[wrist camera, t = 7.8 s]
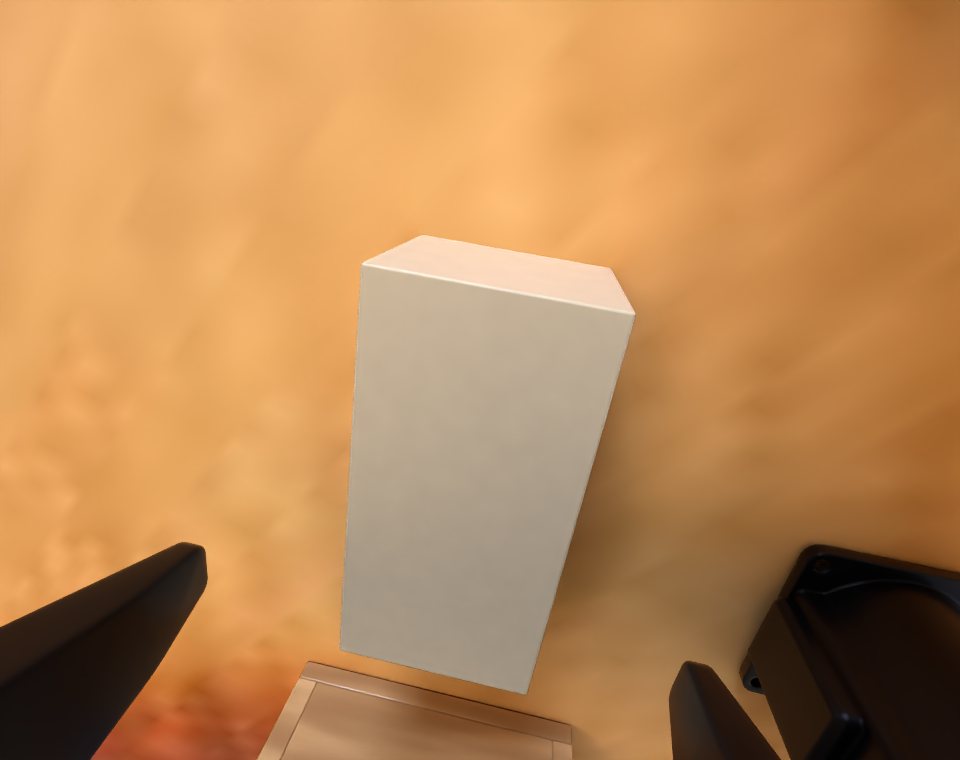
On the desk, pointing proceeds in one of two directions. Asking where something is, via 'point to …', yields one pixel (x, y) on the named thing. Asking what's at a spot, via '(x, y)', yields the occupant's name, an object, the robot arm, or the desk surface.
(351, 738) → the storage box
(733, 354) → the desk surface
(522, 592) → the case
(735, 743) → the robot arm
